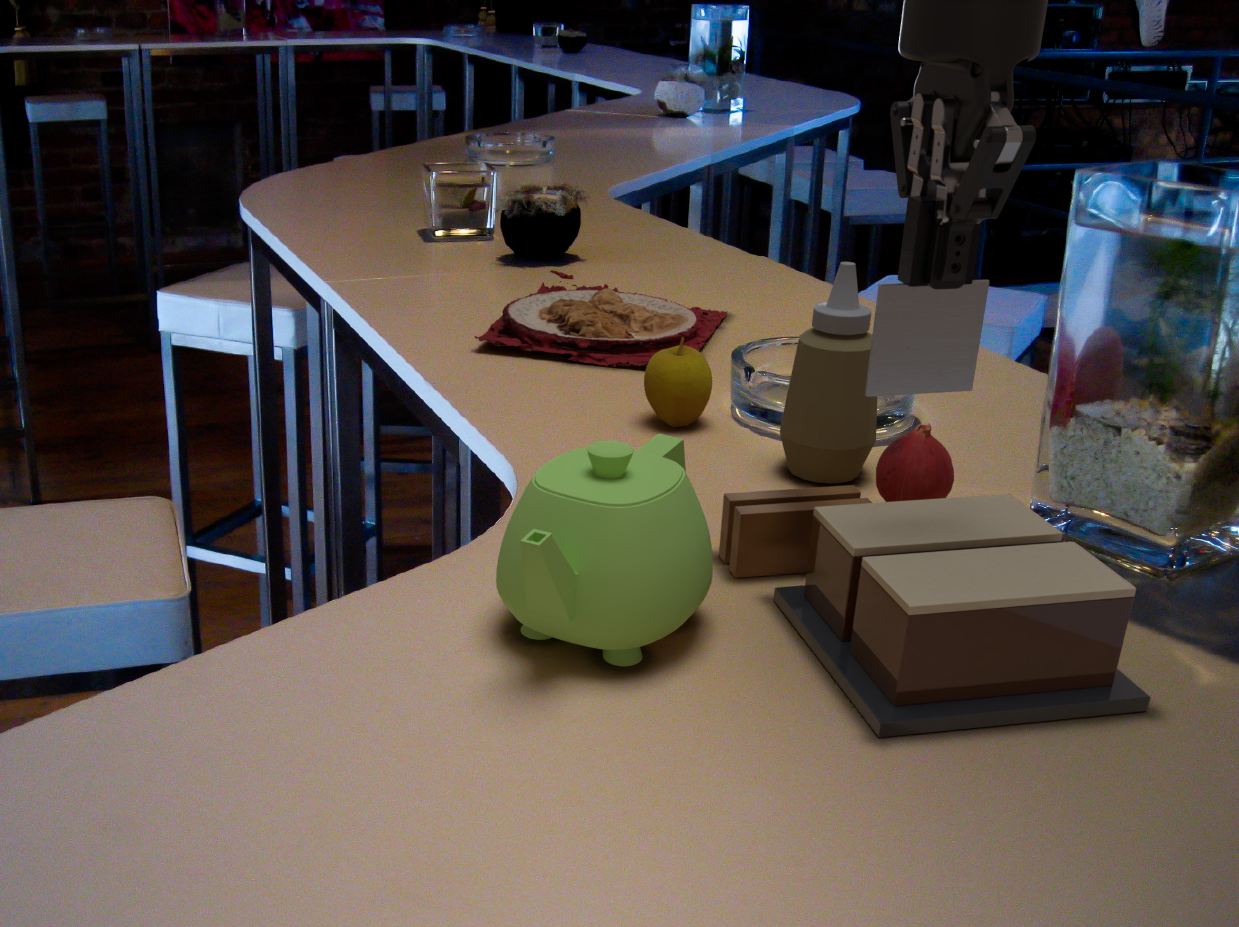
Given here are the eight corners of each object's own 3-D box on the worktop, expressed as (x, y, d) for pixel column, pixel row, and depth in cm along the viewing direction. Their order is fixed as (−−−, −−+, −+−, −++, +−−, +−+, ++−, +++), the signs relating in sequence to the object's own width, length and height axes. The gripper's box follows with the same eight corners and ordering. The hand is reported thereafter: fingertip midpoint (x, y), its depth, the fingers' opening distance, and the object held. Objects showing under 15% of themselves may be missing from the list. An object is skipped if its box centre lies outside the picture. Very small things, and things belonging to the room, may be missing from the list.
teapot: (620, 725, 73) (630, 527, 68) (431, 661, 79) (427, 475, 74) (754, 591, 88) (771, 421, 83) (587, 546, 95) (592, 385, 89)
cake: (1000, 582, 90) (1019, 483, 87) (1147, 711, 75) (1177, 597, 72) (773, 600, 87) (783, 498, 84) (878, 738, 72) (896, 621, 69)
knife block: (845, 545, 95) (853, 484, 93) (866, 568, 92) (875, 505, 90) (718, 555, 94) (723, 493, 91) (735, 578, 90) (741, 514, 88)
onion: (870, 528, 98) (883, 431, 95) (869, 500, 103) (882, 407, 100) (948, 536, 97) (964, 438, 93) (944, 507, 102) (959, 413, 98)
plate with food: (472, 354, 140) (472, 323, 138) (542, 293, 161) (543, 267, 160) (684, 380, 133) (686, 348, 131) (727, 313, 155) (730, 285, 153)
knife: (964, 385, 80) (994, 193, 75) (978, 394, 79) (1009, 198, 74) (859, 391, 79) (883, 196, 74) (871, 400, 78) (896, 202, 73)
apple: (688, 408, 123) (694, 328, 120) (721, 429, 118) (728, 346, 114) (629, 416, 121) (633, 335, 118) (660, 438, 116) (665, 353, 112)
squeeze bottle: (768, 454, 112) (789, 251, 105) (860, 456, 112) (887, 253, 104) (782, 489, 105) (805, 274, 97) (880, 492, 105) (911, 276, 97)
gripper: (1117, -32, 63) (1054, 310, 70) (982, -37, 75) (941, 255, 83) (976, -31, 62) (927, 316, 69) (863, -36, 74) (832, 259, 82)
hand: (935, 281), depth 76 cm, fingers closed on knife, 2 cm apart
